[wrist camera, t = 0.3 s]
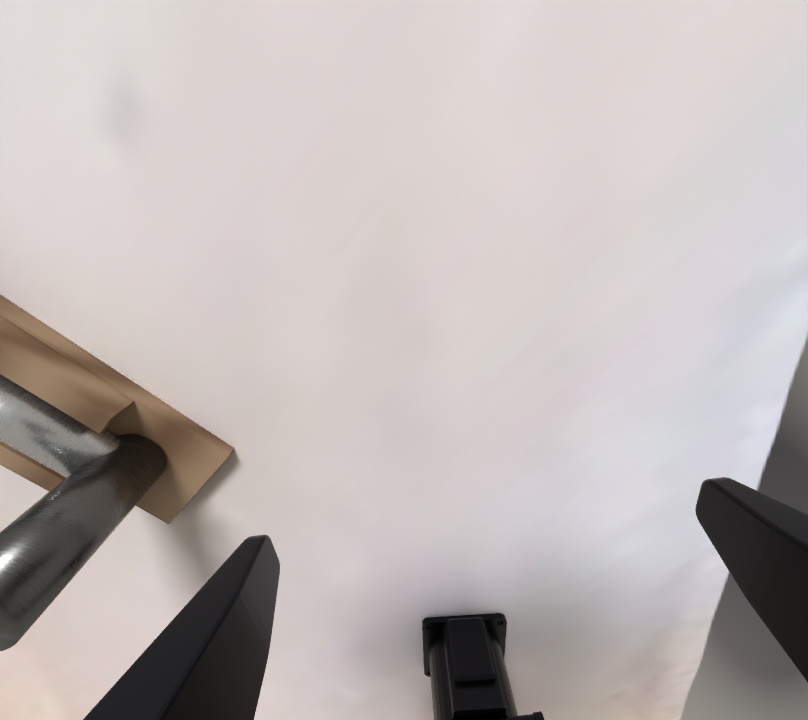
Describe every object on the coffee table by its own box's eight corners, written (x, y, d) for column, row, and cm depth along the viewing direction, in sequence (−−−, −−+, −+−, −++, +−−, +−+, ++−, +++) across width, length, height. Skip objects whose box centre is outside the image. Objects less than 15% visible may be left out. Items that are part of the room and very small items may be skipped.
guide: (233, 448, 25) (213, 478, 22) (176, 512, 26) (150, 549, 23) (-92, 234, 20) (-173, 239, 17) (-136, 331, 21) (-216, 350, 18)
